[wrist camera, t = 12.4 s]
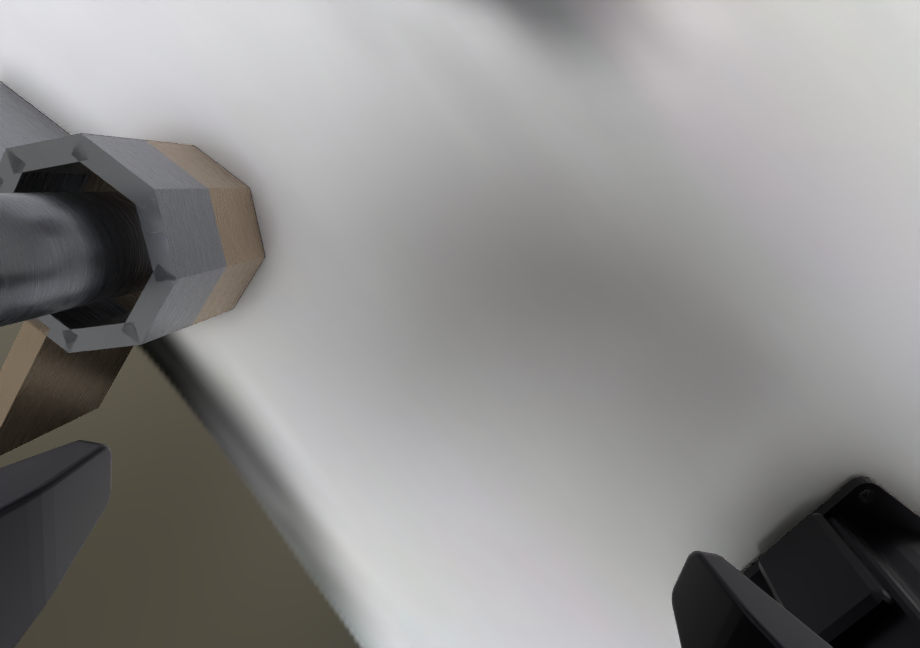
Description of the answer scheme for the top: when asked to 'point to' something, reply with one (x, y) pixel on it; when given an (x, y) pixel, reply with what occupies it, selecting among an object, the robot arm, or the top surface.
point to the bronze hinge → (169, 247)
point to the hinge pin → (68, 252)
